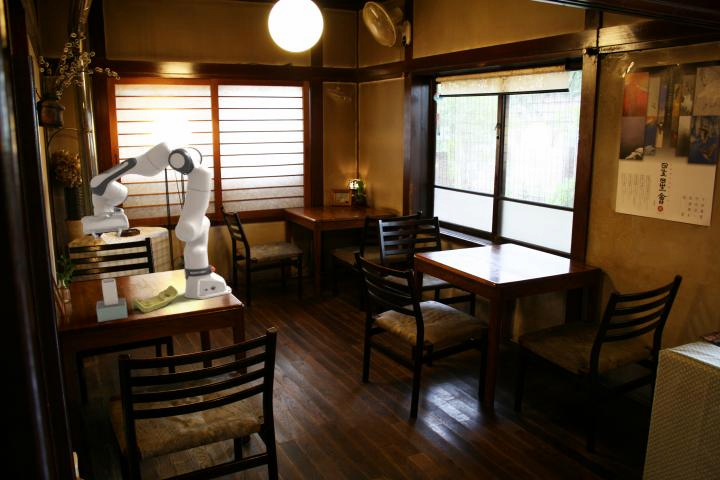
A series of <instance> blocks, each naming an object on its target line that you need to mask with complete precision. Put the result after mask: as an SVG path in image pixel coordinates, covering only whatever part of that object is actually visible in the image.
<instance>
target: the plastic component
mask: <svg viewBox="0 0 720 480" xmlns="http://www.w3.org/2000/svg"><path fill="white" fill-rule="evenodd" d="M178 293H179V291H178V290H177V289H176V288H175V287H174V286H173V285H169V286H168V287H167V288H166V289H164V290H161V291H160V292H159V293H158V294H157V295H154V296H152V297H149V298H147V299H143V300H140V301H139V300H138V299H137V298H133V300H132V302H131V303H132V304H131V308H133V309H134V310H136V309H138V310H139V311H141V312H143V313H150V312H152V311H155V310H158V309H160V308H162V307H165V306H167V304H171V303H170V302H172V301H174V300H175V299H176V298H177V297H178Z"/></svg>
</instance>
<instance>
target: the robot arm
mask: <svg viewBox="0 0 720 480" xmlns="http://www.w3.org/2000/svg"><path fill="white" fill-rule="evenodd" d="M202 163H203V155H202V152H201V151H199V149H197V148H195V147H192V146H191V147H190V146H189V147H186V146H185V147H180V148H176V147H175V146H174V145H173V144H172V143H170V142H168V141H163V142H160V143H158V144H156V145H155V146H153V147H151V148H150V149H149V150H147V151H146V152H144V153H142V154H141V155H138V156H134V157H128V158H127V159H125V160H122V161H121V162H120V163H117V164H116V165H114V166H112V167H111V168H109V169H107V170H105V171H104V172H102V173H99V174H97V175H94V176H93V177H92V178H90V179H91V180H90V182H89V187H90V188H89V189H90V191H91V194H92V195H91V200H92V206H93V215H89V216H88V215H86V216H83V217H82V218H81V220H80V223H81V224H82V232H83V234H85V235H90V234H91V235H92V236H93V238H94V240H95V241H99V235H98V234H99V233H100V234H101V233H108V232H116V233H115V234H116V239H117V238H121V234H122V232H123V231H127V230H129V228H130V223H129V220H128V216H127V214H125V210H124V209H123V208H120V207H117V206H120V205H121V204H123V203H125V202H126V201H127V199H128V198H129V189H128V187H127V186H125V185H123V184H122V183H121V182H118V181H117V180H118V179H121V178H123V176H127V175H138V176H143V177H149V178H151V177H155V176H158V175H159V174H160V173H162V172H163V171H164V170H165V169H167V168H168V167H169V166H170V168H171V169H172V170H174V171H176V172H178V173H180V174H181V175H183V176H186V177H187V184H186V190H185V192H186V193H185V197H184V204H183V207H182V210H181V213H180V215H179V216H180V217H179V220H178V222H177V225H176V226H175V229H174V232H175V236H176V238H177V239H179V240H180V241H181V242H185V246H184V250H183V259H184V260H183V261H184V269H183V272H184V278H185V291H184V297H185V298H188V299H198V300H206V299H210V298H214V297H215V298H216V297H219V296H224V295H229V294H231V293H232V288H231V287H230V286H228V285H227V283H226V281H225V279H224V278H223V277H222V276H221V275H219V274H218V273H215V271H216V268H215V267H214V266H213V265H212V264H209V257H208V243H209V232H210V227H211V222H210V219H209V218H208V217H207V216H206V213H207V209H208V208H209V206H210V205H209V204H210V197H211V191H212V182H213V181H212V177H213V176H212V170H211V169H210V168H209V167H208V166H206V165H202Z"/></svg>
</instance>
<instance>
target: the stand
mask: <svg viewBox="0 0 720 480" xmlns="http://www.w3.org/2000/svg"><path fill="white" fill-rule="evenodd" d="M127 308H128V307H127V301H126V298H125V297H120V298H119V297H118V304H112V305H105V303H104V300H99V301H96V315H97V322H98V323H100V322H101V323H102V322H107V321H113V320H119V319H127V318H129V317H128V309H127Z"/></svg>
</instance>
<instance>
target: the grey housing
mask: <svg viewBox="0 0 720 480" xmlns="http://www.w3.org/2000/svg"><path fill="white" fill-rule="evenodd" d="M101 287H102V295H103V301H104V303H105V305H112V304H118V298H119V297H118V290H117V282H116V279H115V278H114V277H111V278H104V279H103V278H102V280H101Z"/></svg>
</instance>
